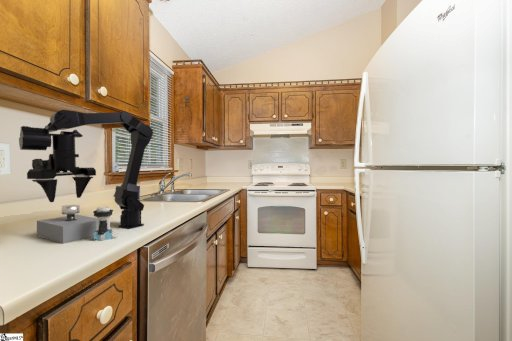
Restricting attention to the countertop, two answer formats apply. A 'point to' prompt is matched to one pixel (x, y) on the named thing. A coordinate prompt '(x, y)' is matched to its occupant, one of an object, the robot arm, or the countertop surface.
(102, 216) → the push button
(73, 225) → the panel
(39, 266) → the countertop surface
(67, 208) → the knob
